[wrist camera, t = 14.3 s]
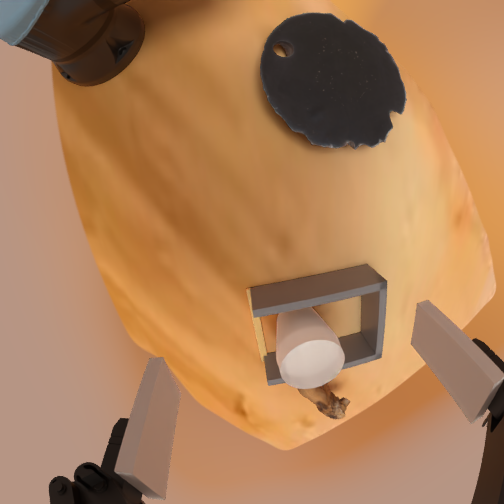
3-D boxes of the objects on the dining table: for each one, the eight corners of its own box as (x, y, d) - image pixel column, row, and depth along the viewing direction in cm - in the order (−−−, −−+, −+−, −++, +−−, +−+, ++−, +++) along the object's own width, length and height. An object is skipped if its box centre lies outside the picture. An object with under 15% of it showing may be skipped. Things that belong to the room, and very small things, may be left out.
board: (222, 65, 32) (221, 51, 27) (331, 9, 30) (342, -6, 25) (318, 183, 38) (331, 184, 33) (411, 111, 36) (430, 107, 31)
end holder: (246, 288, 42) (247, 311, 36) (367, 264, 42) (387, 280, 36) (261, 359, 47) (264, 386, 40) (366, 335, 47) (381, 357, 40)
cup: (303, 347, 47) (319, 395, 35) (259, 329, 45) (265, 379, 33) (333, 308, 44) (358, 351, 33) (288, 286, 43) (304, 328, 31)
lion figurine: (343, 380, 50) (357, 411, 41) (325, 396, 51) (336, 427, 43) (292, 351, 47) (301, 386, 38) (272, 370, 48) (278, 405, 39)
